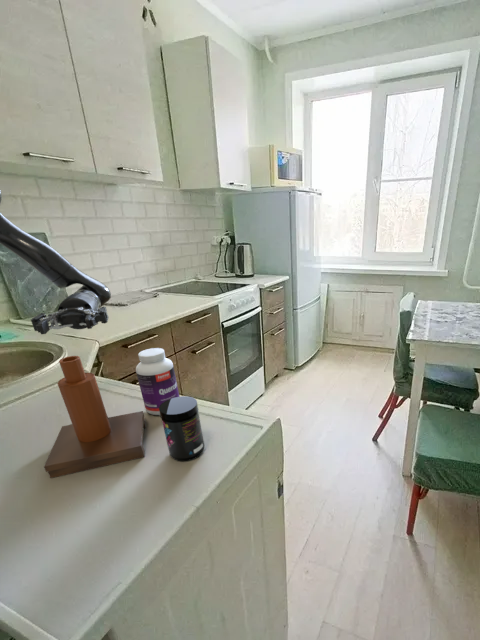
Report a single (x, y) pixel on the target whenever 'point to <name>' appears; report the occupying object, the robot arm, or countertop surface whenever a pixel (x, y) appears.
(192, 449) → the supplement container
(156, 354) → the pill bottle
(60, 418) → the countertop surface
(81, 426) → the bottle
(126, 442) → the brown wooden box
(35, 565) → the countertop surface
